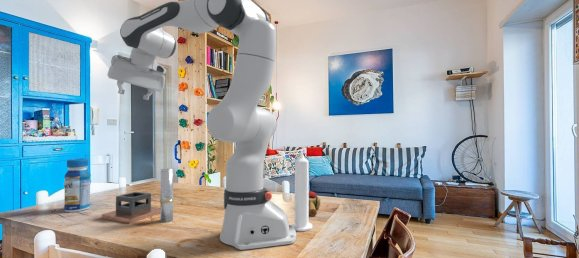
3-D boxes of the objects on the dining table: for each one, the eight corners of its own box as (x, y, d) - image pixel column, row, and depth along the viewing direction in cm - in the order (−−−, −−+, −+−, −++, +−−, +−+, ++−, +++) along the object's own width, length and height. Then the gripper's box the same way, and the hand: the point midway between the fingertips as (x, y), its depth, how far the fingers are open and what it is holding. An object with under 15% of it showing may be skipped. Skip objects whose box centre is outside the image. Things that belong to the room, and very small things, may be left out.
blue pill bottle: (92, 209, 107) (93, 159, 107) (65, 214, 100) (65, 160, 101) (88, 205, 112) (88, 157, 113) (61, 209, 106) (62, 159, 106)
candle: (311, 232, 83) (311, 151, 83) (288, 230, 85) (288, 151, 85) (313, 224, 90) (313, 150, 90) (292, 223, 91) (293, 149, 92)
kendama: (325, 219, 99) (320, 200, 117) (322, 203, 98) (317, 187, 116) (304, 223, 99) (302, 203, 117) (301, 207, 99) (300, 190, 116)
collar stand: (136, 208, 108) (137, 189, 109) (163, 212, 103) (163, 192, 103) (101, 218, 95) (101, 197, 96) (129, 223, 90) (130, 201, 90)
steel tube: (175, 218, 96) (175, 168, 96) (171, 222, 92) (171, 169, 92) (162, 218, 96) (163, 168, 96) (157, 222, 91) (158, 169, 91)
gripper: (117, 53, 95) (107, 90, 95) (170, 71, 112) (162, 103, 112) (109, 52, 99) (100, 89, 99) (162, 70, 115) (154, 101, 115)
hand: (133, 96), depth 105 cm, fingers open, 8 cm apart
